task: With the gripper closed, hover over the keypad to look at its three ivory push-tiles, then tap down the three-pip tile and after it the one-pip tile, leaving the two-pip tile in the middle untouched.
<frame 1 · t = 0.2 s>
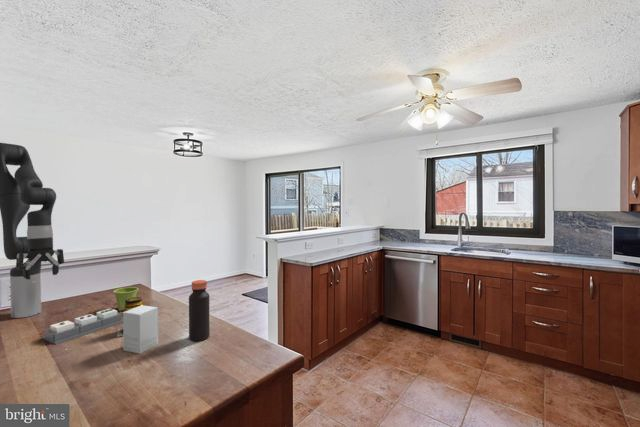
hand: (41, 276, 120), 18 cm above the counter, tool pointing down, fingers open, 8 cm apart
supplement box: (141, 347, 98), on the counter
bottle: (199, 338, 105), on the counter
tile one: (62, 327, 105), point 3 cm above the counter, slide at 0.0 cm
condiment: (131, 331, 110), on the counter
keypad: (86, 329, 111), on the counter
tile two: (86, 320, 111), point 3 cm above the counter, slide at 0.0 cm
plant pot: (126, 309, 134), on the counter
tile three: (107, 314, 118), point 3 cm above the counter, slide at 0.0 cm
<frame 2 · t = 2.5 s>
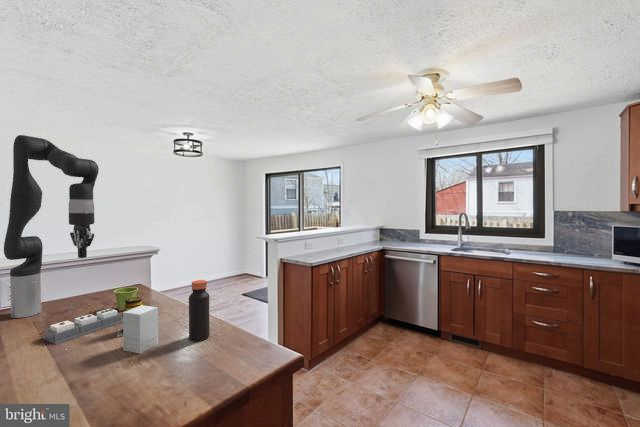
hand: (82, 257, 112), 27 cm above the counter, tool pointing down, fingers closed
nothing on the counter moved.
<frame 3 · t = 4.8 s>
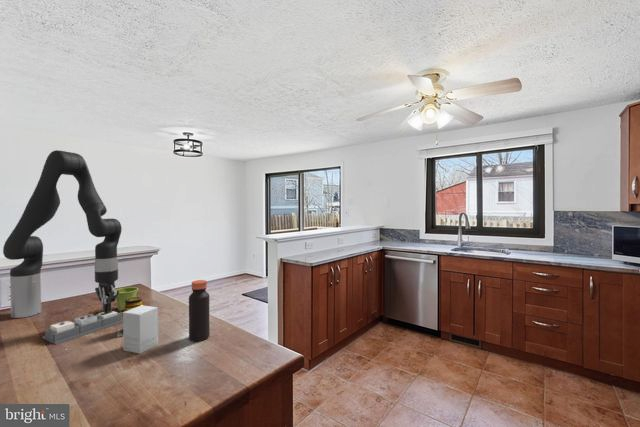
hand: (107, 312, 118), 4 cm above the counter, tool pointing down, fingers closed
tile three: (107, 316, 118), point 3 cm above the counter, slide at -0.8 cm, touching gripper
everything else where it was.
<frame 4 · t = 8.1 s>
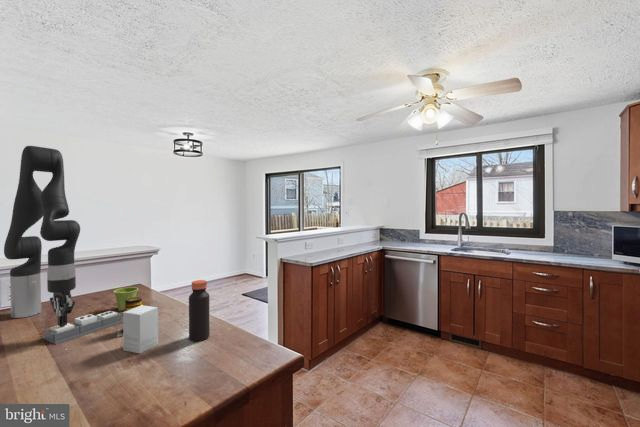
hand: (62, 325, 105), 4 cm above the counter, tool pointing down, fingers closed
tile one: (62, 329, 105), point 3 cm above the counter, slide at -0.8 cm, touching gripper
tile three: (107, 316, 118), point 2 cm above the counter, slide at -1.0 cm
everything else where it was.
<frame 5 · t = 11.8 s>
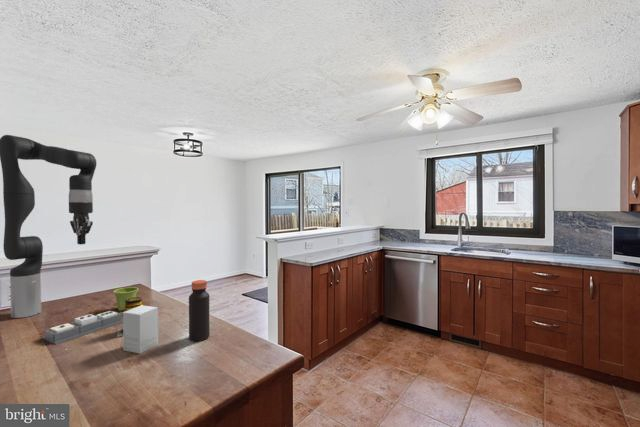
hand: (81, 244, 120), 31 cm above the counter, tool pointing down, fingers closed
tile one: (62, 330, 105), point 2 cm above the counter, slide at -1.0 cm
everything else where it was.
at the end: tile three slide at -1.0 cm; tile one slide at -1.0 cm; tile two slide at 0.0 cm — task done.
